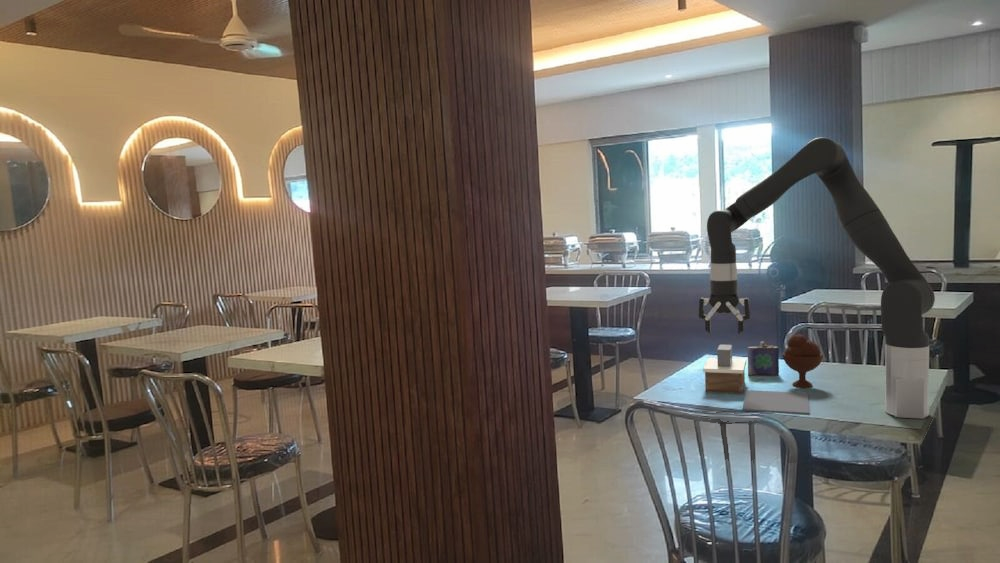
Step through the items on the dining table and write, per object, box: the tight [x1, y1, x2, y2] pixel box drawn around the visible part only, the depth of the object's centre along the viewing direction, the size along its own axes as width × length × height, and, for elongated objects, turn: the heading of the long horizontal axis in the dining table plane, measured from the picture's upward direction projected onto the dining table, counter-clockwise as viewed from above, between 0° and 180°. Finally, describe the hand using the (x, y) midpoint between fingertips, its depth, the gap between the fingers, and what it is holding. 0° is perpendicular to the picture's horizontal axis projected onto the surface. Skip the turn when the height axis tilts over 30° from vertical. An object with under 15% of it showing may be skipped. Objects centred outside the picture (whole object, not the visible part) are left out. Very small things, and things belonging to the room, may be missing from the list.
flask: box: [747, 340, 780, 377], centre depth 213 cm, size 9×3×11 cm, turn 76°
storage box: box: [704, 372, 746, 395], centre depth 200 cm, size 14×10×6 cm
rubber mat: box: [741, 389, 811, 415], centre depth 182 cm, size 20×16×1 cm
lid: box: [702, 344, 747, 374], centre depth 200 cm, size 15×11×7 cm
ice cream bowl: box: [781, 333, 824, 389], centre depth 197 cm, size 11×11×15 cm
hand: (724, 333), depth 199 cm, fingers open, 8 cm apart
